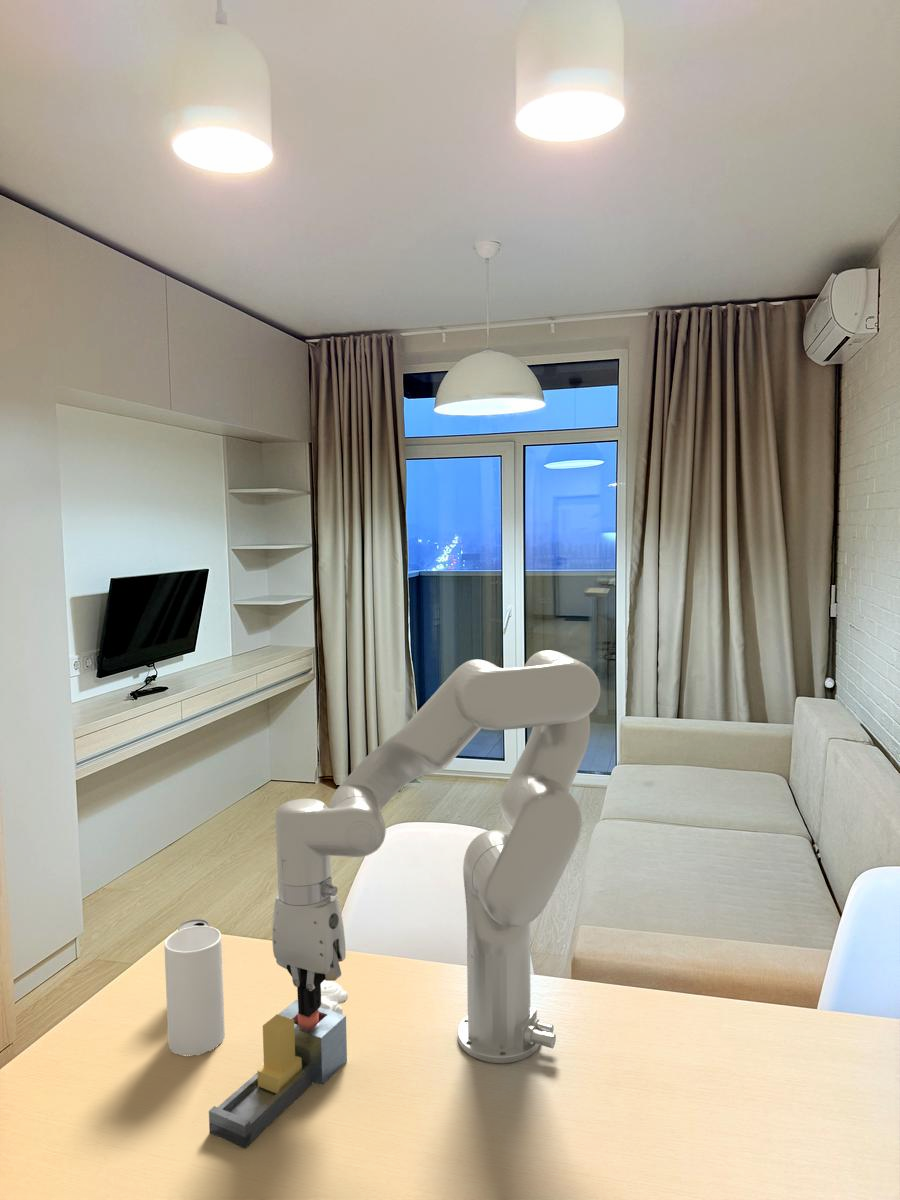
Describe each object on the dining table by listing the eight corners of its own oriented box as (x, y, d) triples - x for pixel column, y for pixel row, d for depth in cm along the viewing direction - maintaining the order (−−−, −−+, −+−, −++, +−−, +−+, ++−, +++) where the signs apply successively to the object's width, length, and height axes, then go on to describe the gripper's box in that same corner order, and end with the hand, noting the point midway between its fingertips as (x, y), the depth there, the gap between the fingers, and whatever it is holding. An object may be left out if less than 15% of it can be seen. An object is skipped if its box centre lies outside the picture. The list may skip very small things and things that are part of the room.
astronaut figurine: (278, 1027, 131) (277, 1008, 130) (308, 986, 142) (308, 969, 142) (330, 1034, 129) (330, 1015, 128) (357, 992, 140) (356, 975, 140)
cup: (208, 1059, 122) (204, 954, 121) (157, 1052, 124) (153, 949, 123) (234, 1026, 130) (230, 928, 129) (185, 1020, 132) (182, 923, 131)
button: (323, 1041, 121) (322, 1009, 121) (310, 1052, 119) (310, 1020, 118) (306, 1035, 123) (306, 1004, 122) (294, 1046, 120) (293, 1014, 120)
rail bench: (347, 1061, 121) (346, 1015, 121) (254, 1152, 104) (253, 1099, 103) (297, 1044, 126) (296, 999, 125) (200, 1129, 108) (198, 1077, 107)
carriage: (301, 1072, 116) (300, 1016, 116) (278, 1094, 112) (277, 1036, 111) (281, 1065, 118) (279, 1010, 117) (257, 1086, 114) (256, 1029, 113)
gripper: (363, 887, 118) (367, 1010, 120) (280, 869, 125) (285, 985, 127) (332, 909, 112) (337, 1038, 113) (246, 888, 119) (252, 1011, 120)
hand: (309, 1010), depth 120 cm, fingers closed
